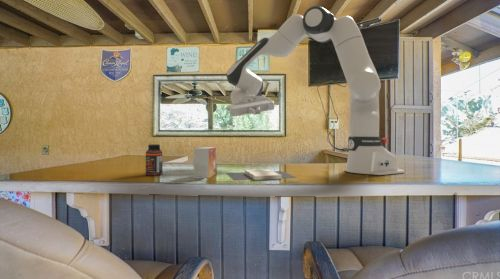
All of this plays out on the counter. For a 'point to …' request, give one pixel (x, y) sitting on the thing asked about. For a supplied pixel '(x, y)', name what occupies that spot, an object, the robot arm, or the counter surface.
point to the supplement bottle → (153, 160)
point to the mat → (244, 177)
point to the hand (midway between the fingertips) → (257, 112)
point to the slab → (263, 175)
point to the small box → (204, 162)
